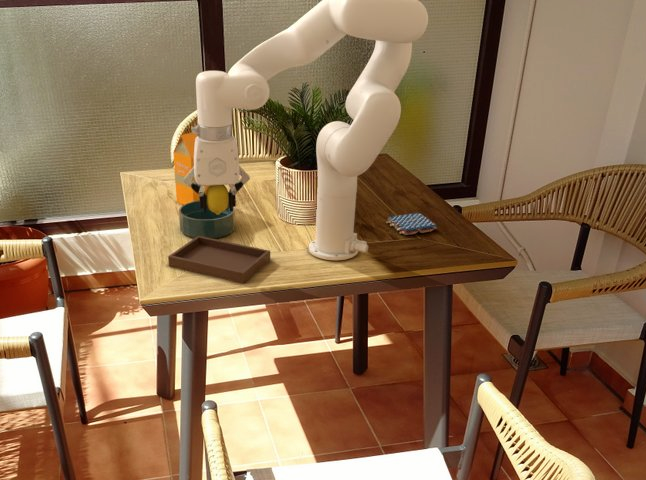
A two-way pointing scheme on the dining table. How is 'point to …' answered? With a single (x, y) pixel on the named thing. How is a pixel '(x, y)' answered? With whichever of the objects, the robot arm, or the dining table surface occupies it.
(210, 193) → the lemon
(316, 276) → the dining table surface
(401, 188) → the dining table surface
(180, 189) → the orange juice
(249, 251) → the tray
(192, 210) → the bowl
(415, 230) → the woven mat
